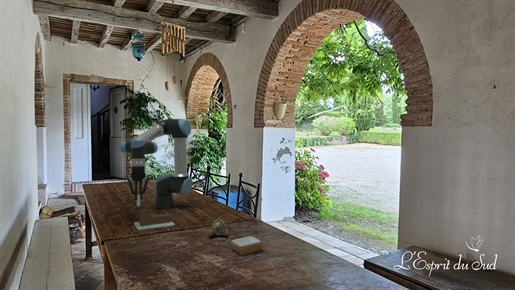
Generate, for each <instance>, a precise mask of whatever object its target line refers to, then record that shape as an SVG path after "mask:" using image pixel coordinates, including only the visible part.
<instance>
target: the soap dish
mask: <svg viewBox="0 0 515 290" xmlns="http://www.w3.org/2000/svg"><path fill="white" fill-rule="evenodd" d="M230 245H231V248H232V250H233V251H235V252H236V253H237V254H238V255H241V256H243V255H247V254H252V253H256V252H260V251H261V249H262V246H263V245H264V244H263V243H262V242H261V240H259V238H256V237H254V236H253V235H252V236H251V235H250V236H246V237H241V238H236V239H233V240H231V242H230Z"/></svg>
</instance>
